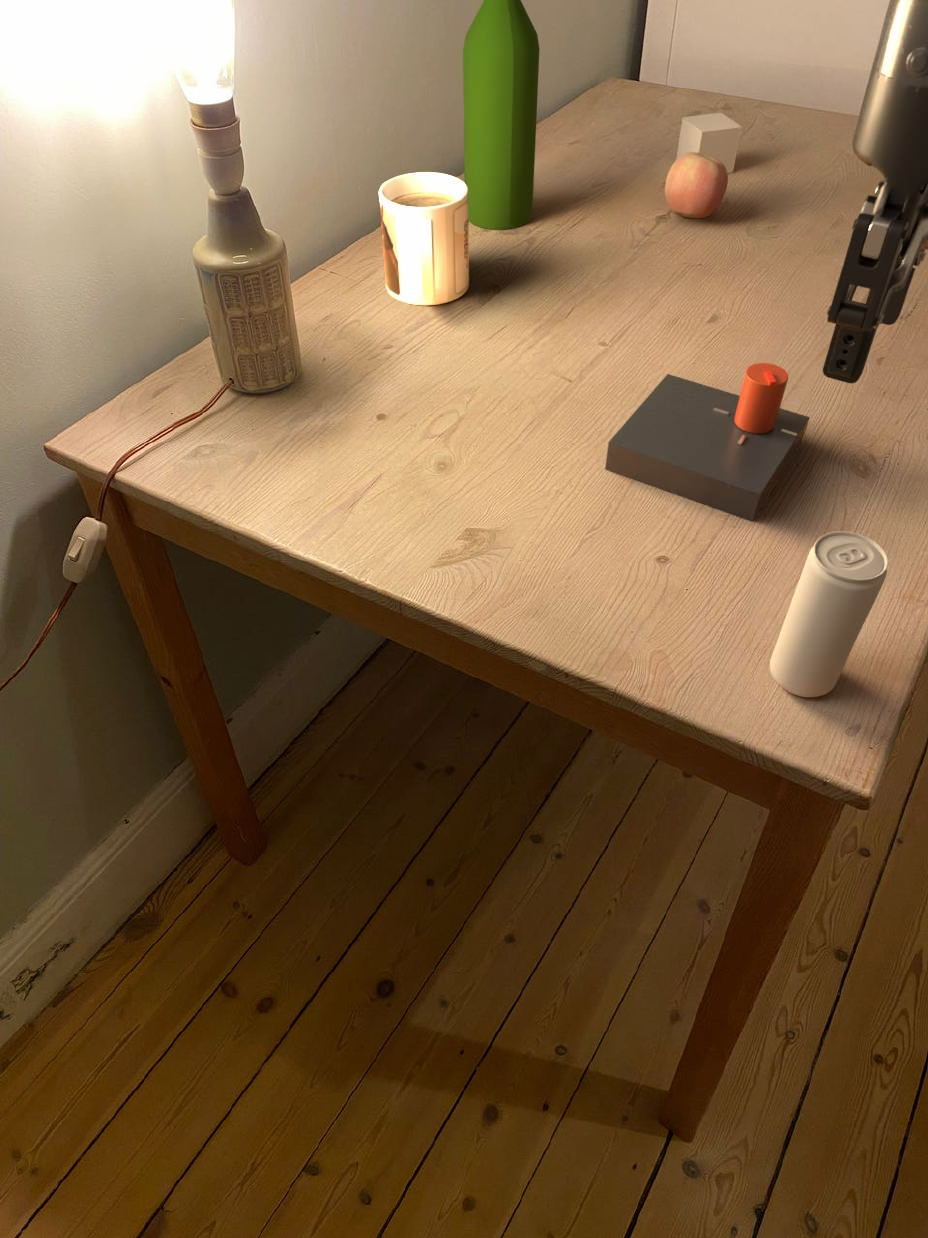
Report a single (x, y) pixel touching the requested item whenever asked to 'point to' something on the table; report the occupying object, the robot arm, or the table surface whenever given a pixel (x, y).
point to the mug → (425, 237)
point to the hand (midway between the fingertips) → (860, 347)
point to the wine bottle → (500, 114)
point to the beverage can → (827, 612)
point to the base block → (704, 447)
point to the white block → (710, 137)
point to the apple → (695, 185)
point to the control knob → (760, 398)
